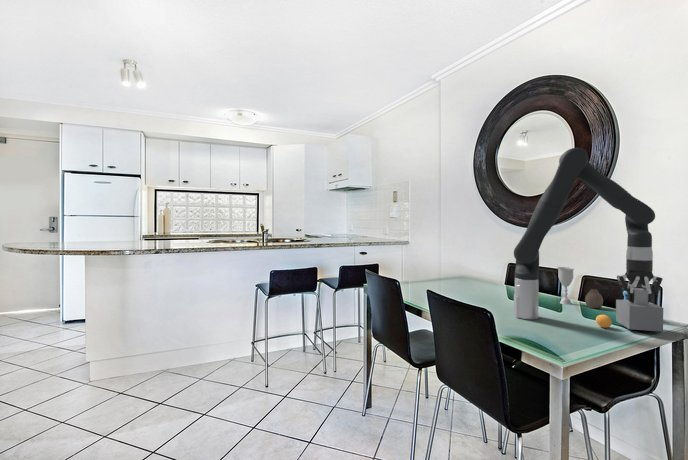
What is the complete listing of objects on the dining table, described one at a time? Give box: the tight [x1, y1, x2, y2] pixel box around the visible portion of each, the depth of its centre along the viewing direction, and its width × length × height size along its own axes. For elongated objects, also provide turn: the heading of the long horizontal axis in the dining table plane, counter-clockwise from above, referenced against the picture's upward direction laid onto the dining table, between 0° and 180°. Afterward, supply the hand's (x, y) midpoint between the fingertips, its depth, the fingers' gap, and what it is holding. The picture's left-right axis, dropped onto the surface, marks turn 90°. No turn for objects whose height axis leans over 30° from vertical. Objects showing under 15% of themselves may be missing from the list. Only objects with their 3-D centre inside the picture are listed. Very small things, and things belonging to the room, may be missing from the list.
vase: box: [584, 288, 604, 309], centre depth 157 cm, size 7×7×9 cm
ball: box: [595, 314, 613, 328], centre depth 129 cm, size 5×5×5 cm
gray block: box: [615, 287, 664, 333], centre depth 126 cm, size 10×10×14 cm
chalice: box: [557, 266, 575, 305], centre depth 166 cm, size 7×7×18 cm
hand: (638, 302), depth 126 cm, fingers closed on gray block, 4 cm apart
